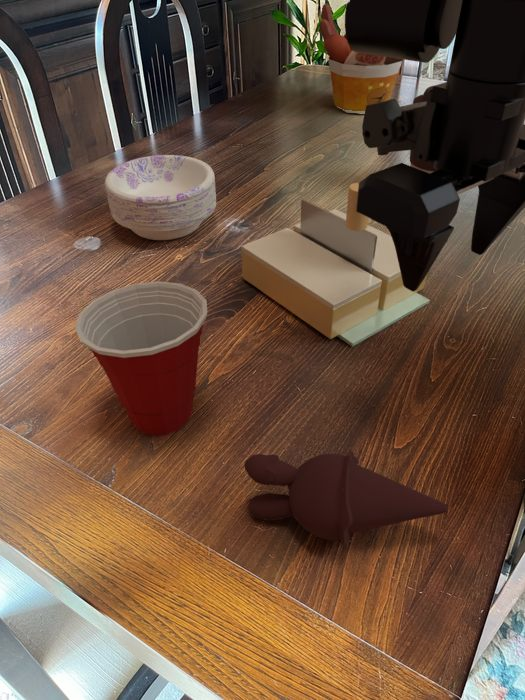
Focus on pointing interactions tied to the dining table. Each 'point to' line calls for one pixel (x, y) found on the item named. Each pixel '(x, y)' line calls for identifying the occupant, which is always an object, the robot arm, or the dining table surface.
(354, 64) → the bucket of meat
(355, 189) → the slicer
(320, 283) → the slotted wooden block
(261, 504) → the icecream
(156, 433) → the plastic cup
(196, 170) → the paper bowls
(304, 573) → the dining table surface
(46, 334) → the dining table surface
